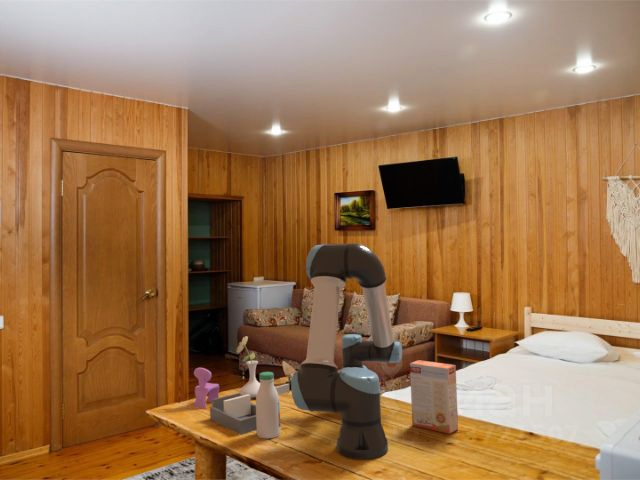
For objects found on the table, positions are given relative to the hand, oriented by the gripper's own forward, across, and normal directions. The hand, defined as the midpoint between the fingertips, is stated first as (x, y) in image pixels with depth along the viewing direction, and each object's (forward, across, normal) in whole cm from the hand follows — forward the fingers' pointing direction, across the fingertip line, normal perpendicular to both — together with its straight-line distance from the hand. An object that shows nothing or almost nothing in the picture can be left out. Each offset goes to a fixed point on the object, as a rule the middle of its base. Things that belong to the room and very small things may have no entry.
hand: (284, 395), depth 178 cm
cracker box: (-35, -34, -11) cm, 50 cm away
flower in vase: (-12, +40, -11) cm, 43 cm away
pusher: (+7, +19, -10) cm, 22 cm away
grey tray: (+7, +16, -11) cm, 21 cm away
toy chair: (+7, +44, -11) cm, 45 cm away
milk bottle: (+7, 0, -11) cm, 13 cm away
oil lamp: (-34, +36, -11) cm, 51 cm away
